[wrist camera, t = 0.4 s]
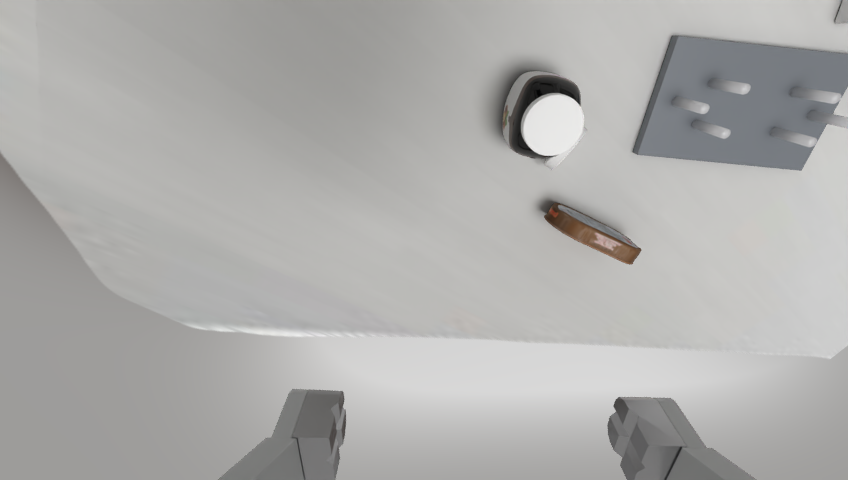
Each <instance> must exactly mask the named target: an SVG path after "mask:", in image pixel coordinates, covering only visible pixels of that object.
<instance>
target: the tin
mask: <svg viewBox="0 0 848 480" xmlns="http://www.w3.org/2000/svg"><path fill="white" fill-rule="evenodd" d="M544 218H545V219H546V220H547V222H549V223H550V224H551V225H552V226H554V227H555V228H556V229H558V230H559V231H561V232H562V233H564V234H566V235H567V236H569V237H571V238H573V239H574V240H577V241H578V242H581V243H583V244H585V245H587V246H589V247H591V248H593V249H596V250H598V251H600V252H602V253H604V254H606V255H608V256H611V257H613V258H615V259H617V260H619V261H621V262H624V263H626V264H633V262H634V260H635V259H636V258H637V256H638V255H639V253H640V252H641V248H639V247H637V246H636V245H635V244H634V243H633V242H632V241H631V240H630V239H629V238H627V237H626V236H624V235H623V234H621V233H620V232H618V231H616V230H614V229H612V228H611V227H609V226H607V225H605V224H603V223H601V222H599V221H597V220H595V219H593V218H591V217H589V216H587V215H585V214H582V213H580V212H578V211H576V210H574V209H572V208H570V207H567V206H565V205H562V204H559V203H554V204H553V205H552V207H551V208H550V210H549V211H548V213H547V214H546V215H545V216H544Z"/></svg>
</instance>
